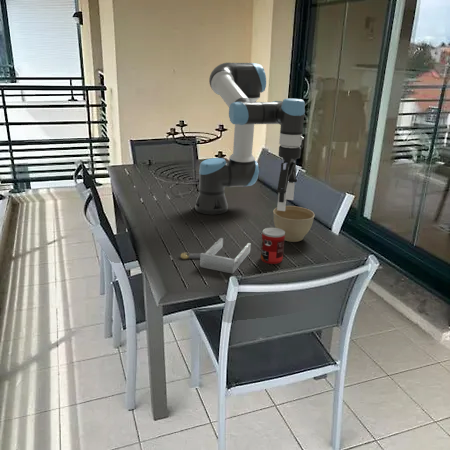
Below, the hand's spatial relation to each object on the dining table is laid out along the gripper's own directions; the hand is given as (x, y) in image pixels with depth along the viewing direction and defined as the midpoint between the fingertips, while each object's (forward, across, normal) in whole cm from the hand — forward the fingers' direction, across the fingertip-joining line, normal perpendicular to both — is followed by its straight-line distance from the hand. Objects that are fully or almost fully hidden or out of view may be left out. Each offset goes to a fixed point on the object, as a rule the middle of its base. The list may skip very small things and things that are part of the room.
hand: (285, 204), depth 162 cm
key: (+19, -17, +28) cm, 38 cm away
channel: (+19, -13, +17) cm, 28 cm away
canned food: (+19, -7, +2) cm, 20 cm away
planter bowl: (+19, +16, 0) cm, 24 cm away
